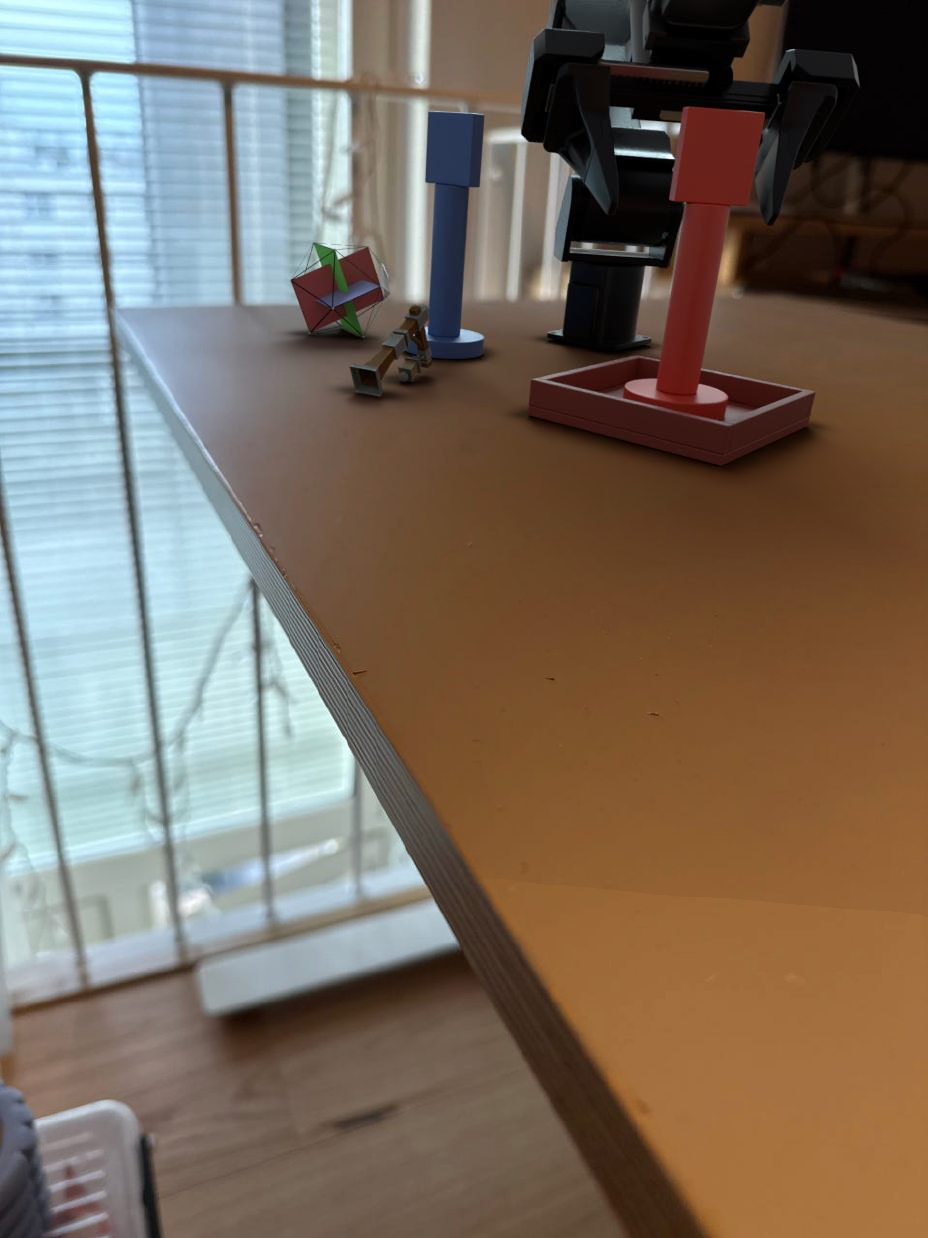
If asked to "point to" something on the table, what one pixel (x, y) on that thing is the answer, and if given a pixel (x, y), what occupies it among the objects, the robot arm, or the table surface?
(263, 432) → the table surface
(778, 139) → the robot arm
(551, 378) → the red tray
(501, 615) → the table surface
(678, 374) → the signpost on round base
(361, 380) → the jointed funnel contraption
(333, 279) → the geometric puzzle
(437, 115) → the blue pillar
